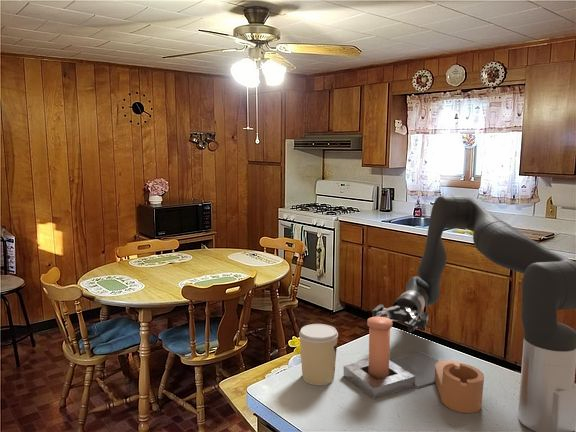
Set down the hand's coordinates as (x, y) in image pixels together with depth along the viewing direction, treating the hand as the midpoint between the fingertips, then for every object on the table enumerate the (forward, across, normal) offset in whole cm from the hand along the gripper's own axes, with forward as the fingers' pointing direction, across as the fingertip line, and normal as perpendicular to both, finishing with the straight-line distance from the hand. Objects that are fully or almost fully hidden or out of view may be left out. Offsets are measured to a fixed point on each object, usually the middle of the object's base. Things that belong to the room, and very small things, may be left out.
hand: (392, 325), depth 118 cm
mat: (+1, +8, +10) cm, 12 cm away
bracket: (+7, +18, +10) cm, 21 cm away
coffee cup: (+17, -13, +10) cm, 24 cm away
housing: (+12, 0, +10) cm, 15 cm away
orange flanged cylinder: (+12, 0, +10) cm, 15 cm away
